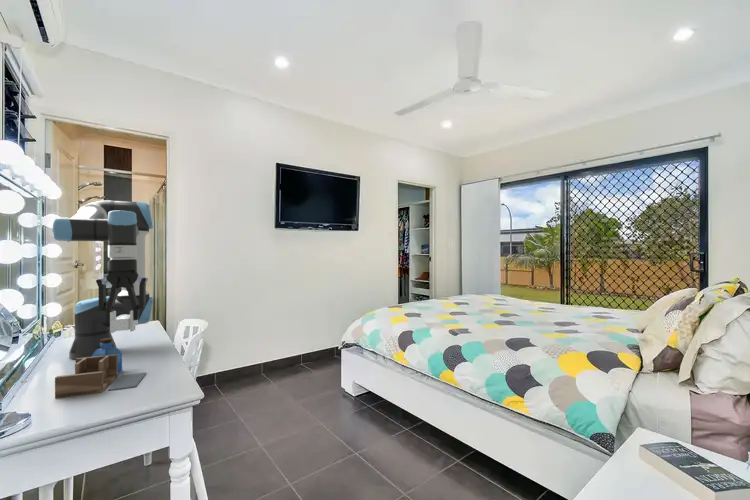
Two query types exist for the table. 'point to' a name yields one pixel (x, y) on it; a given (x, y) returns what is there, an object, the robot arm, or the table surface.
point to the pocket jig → (88, 376)
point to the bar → (121, 323)
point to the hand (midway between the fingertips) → (123, 331)
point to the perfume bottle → (109, 351)
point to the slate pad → (127, 381)
